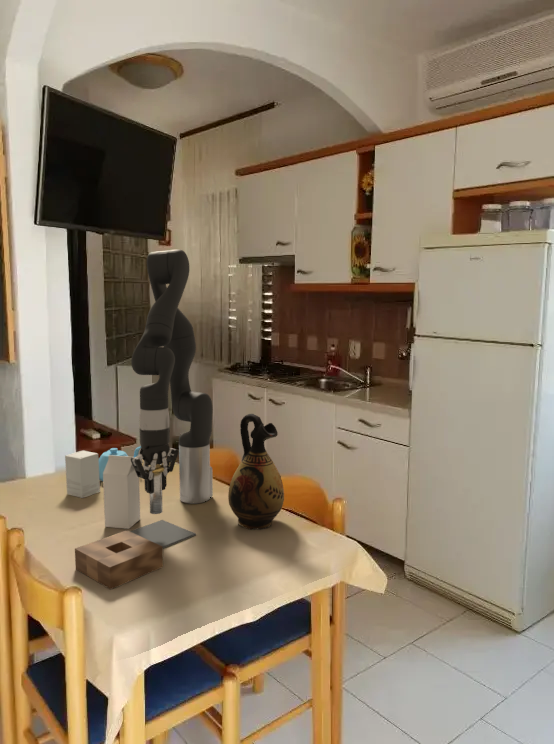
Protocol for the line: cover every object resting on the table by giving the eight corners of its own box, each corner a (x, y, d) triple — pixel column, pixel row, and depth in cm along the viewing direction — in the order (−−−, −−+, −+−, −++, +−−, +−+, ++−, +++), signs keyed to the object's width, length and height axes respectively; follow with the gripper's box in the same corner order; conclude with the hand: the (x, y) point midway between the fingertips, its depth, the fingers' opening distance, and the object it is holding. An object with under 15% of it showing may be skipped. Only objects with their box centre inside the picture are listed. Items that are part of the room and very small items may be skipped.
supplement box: (100, 492, 189) (99, 453, 187) (81, 498, 183) (80, 458, 181) (85, 487, 193) (83, 449, 191) (66, 494, 187) (64, 455, 185)
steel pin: (157, 507, 158) (157, 464, 156) (168, 511, 155) (167, 467, 153) (144, 511, 154) (143, 467, 153) (154, 516, 151) (153, 471, 150)
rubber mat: (162, 521, 165) (162, 519, 165) (195, 535, 156) (195, 533, 156) (119, 536, 155) (118, 535, 155) (152, 552, 146) (152, 550, 146)
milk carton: (129, 529, 160) (127, 460, 157) (104, 527, 161) (102, 458, 158) (140, 519, 167) (138, 453, 164) (116, 517, 168) (114, 451, 165)
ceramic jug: (295, 522, 165) (296, 416, 161) (256, 539, 154) (256, 425, 150) (252, 506, 177) (252, 407, 173) (213, 521, 165) (211, 415, 161)
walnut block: (127, 549, 147) (126, 530, 147) (162, 566, 138) (162, 546, 137) (75, 569, 137) (74, 548, 136) (110, 589, 128) (109, 567, 127)
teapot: (108, 469, 212) (107, 441, 211) (146, 473, 208) (145, 444, 207) (83, 482, 198) (82, 452, 197) (123, 486, 194) (122, 456, 193)
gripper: (167, 419, 159) (168, 481, 161) (122, 427, 149) (123, 494, 151) (185, 423, 154) (186, 487, 157) (140, 432, 144) (141, 501, 146)
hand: (155, 490), depth 154 cm, fingers closed on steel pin, 3 cm apart
